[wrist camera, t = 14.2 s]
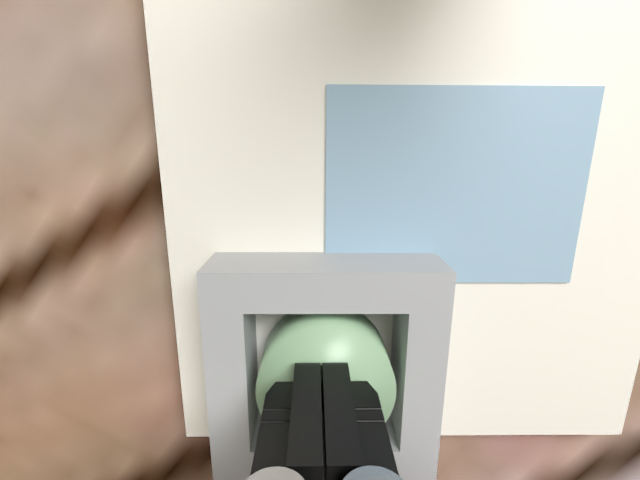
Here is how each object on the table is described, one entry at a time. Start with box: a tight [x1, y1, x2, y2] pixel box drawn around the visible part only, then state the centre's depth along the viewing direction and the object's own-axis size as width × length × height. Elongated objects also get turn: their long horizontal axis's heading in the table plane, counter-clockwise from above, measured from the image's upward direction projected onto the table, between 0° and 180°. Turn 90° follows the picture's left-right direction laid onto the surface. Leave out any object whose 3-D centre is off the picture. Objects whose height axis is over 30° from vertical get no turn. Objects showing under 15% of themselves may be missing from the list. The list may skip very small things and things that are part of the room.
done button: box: [255, 314, 396, 423], centre depth 12 cm, size 4×4×2 cm
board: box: [143, 0, 640, 480], centre depth 10 cm, size 16×24×3 cm, turn 0°
